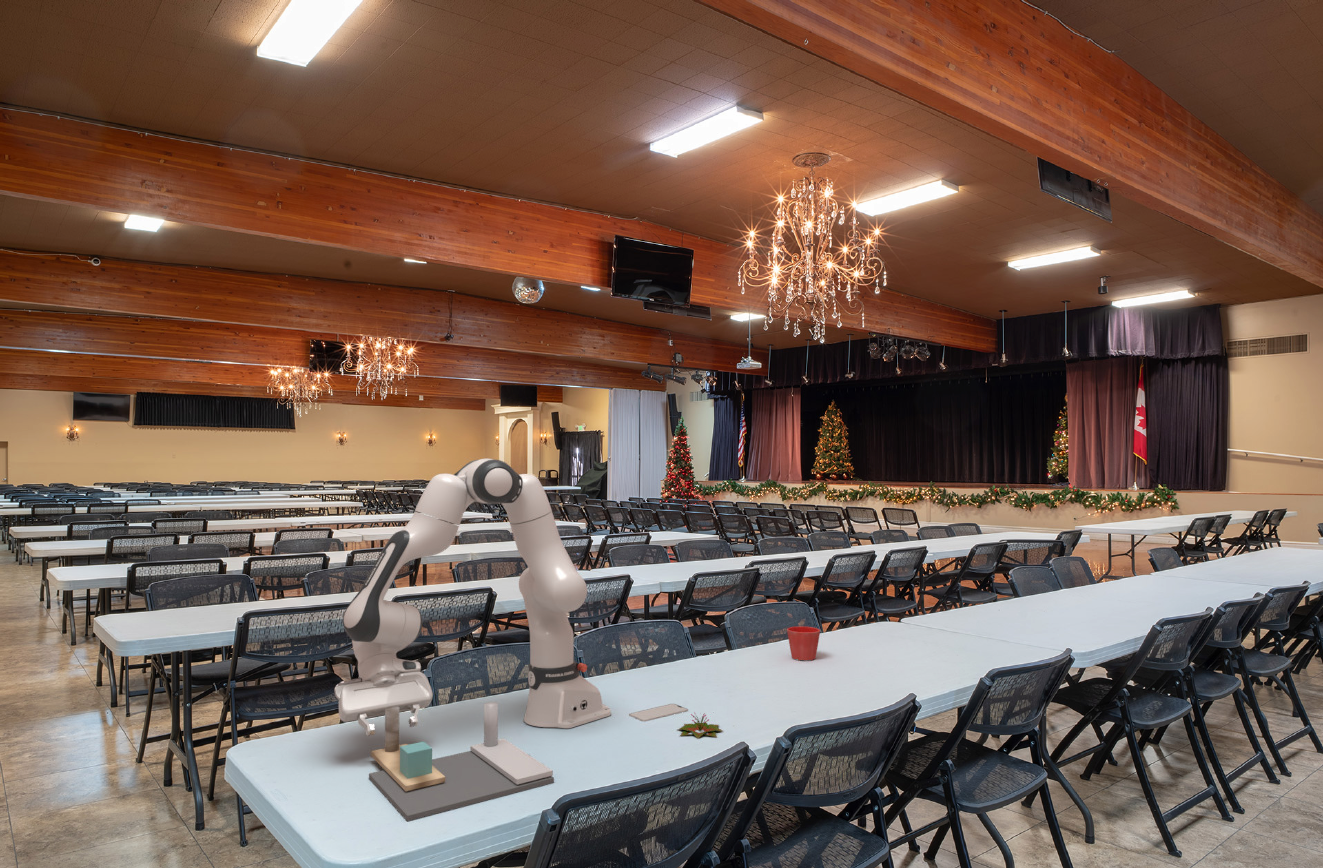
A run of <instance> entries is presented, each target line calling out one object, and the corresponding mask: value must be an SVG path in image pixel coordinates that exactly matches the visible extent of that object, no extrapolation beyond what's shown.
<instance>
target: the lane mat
mask: <svg viewBox="0 0 1323 868" xmlns="http://www.w3.org/2000/svg"><path fill="white" fill-rule="evenodd" d="M432 766H434V767H435V768H436V769H437V770H438V771H439V772H440V773H442V774H443V775H444V776H445V782H443V783H439V784H434V785H430V786H426V787H422V788H418V789H414V790H410V791H405V790H404V789H403V788H402V787H401V786H400V785H399V784H398V783H397V782H396V781H395V780H394V779H393V778H392V777H391V776H390V775H389V774H388V773H387V772H386V771H385V770H384V769H383V770H378V771H374V772H370V773H368V779H369V780H370V781H371V782H372V784H373V785H374V786H375V787H376V788H377V790H378V791H380V792H381V794H382V795H383V796H384V797H385V798H386V800H388V802H390V804H391V805H392V806H393V807H394V809H396V811H397V812H399V814H400V815H401V816H402V817H403V818H404V820H406V822H411V821H414V820H418V819H417V818H419V819H422V818H425V817H424V816H426V817H429V815H430V816H433V815H432V814H434V815H437V814H440V812H441V813H445V812H448V810H449V811H452V810H451V809H453V810H456V809H460V808H463V807H467V806H471V805H475V804H479V803H482V802H486V801H490V800H494V799H497V798H501V797H505V796H509V795H512V794H517V793H520V792H524V791H527V790H531V789H535V788H539V787H543V786H547V785H550V784H554V783H555V778H554V777H553V776H549V777H545V778H541V779H537V780H533V781H529V782H526V783H522V784H518V785H517V784H515V783H514V782H513V781H511V780H510V779H509V778H507V777H506V776H504V775H503V774H502V773H500V772H499V771H498V770H496V769H495V768H494V767H492V766H491V765H490V764H488V763H487V762H486V761H484V760H483V759H482V758H480V757H479V756H478V755H476V754H475V753H473V752H472V751H471V750H467V751H463V752H460V753H459V752H458V753H455V754H451V755H446V756H441V757H437V758H434V759H433V758H432Z"/></svg>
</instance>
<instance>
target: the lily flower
mask: <svg viewBox="0 0 1323 868" xmlns="http://www.w3.org/2000/svg"><path fill="white" fill-rule="evenodd" d="M694 714H696V712H695V711H694ZM690 715H691V716H692V718H694V719H692V720H691V721H692V722H693V723H683V726H681V727H680V728H678V729H676V731H677V730H678V731H682V732H681V733H680V735H679V737H682V736H695V737H696V739H697V740H698V739H699V738H700V737H702V736H708V737H715V738H717V732H715V731H718V732H723V730H722V729H720V728H719V724H713V723H711V724H710V723H709V724H708V723H707V722H709V721H710V719H707V718H708V717H706V716H707V714H706V713H703V715H702V717H699V716H696V718H695V715H693V714H692V713H691V714H690ZM700 715H701V712H700ZM704 718H705V719H704ZM683 730H684V731H683ZM698 731H699V732H698ZM690 733H691V734H690Z"/></svg>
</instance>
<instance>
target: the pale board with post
mask: <svg viewBox="0 0 1323 868" xmlns="http://www.w3.org/2000/svg"><path fill="white" fill-rule="evenodd" d="M483 708H484V709H483V718H484V719H483V742H482V743H481V742H480V743H476V744H472V745H470V751H472V752H473V753H475V754H476V755H478V756H479V757H480V758H482V759H483V760H484V761H486V762H487V763H488V764H490V765H491V766H492V767H494V768H495V769H496V770H498V771H499V772H500V773H502V774H503V775H504V776H506V777H507V778H509V779H510V780H511V781H513V782H514V783H515V784H517V785H518V784H522V783H526V782H529V781H533V780H537V779H541V778H545V777H549V776H552V777H553V776H554V774H553V773H554V772H553V771H554V770H553V769H551V768H550V767H548V766H546V765H545V764H543V763H542V762H540V761H539V760H537V759H536V758H535V757H533V756H531V755H530V754H529V753H526V752H525V751H524V750H522V749H521V748H519V747H517V746H516V745H514V744H513V743H511V742H510V741H509V740H507V739H505V738H500V739H498V737H499V735H498V734H499V731H498V730H499V729H498V726H499V723H498V722H499V721H498V719H499V717H498V716H499V714H498V713H499V712H498V710H499V705H498V702H496V701H489V702H485V703H484V704H483Z"/></svg>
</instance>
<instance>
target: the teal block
mask: <svg viewBox="0 0 1323 868" xmlns="http://www.w3.org/2000/svg"><path fill="white" fill-rule="evenodd" d="M432 759H433V747H432V746H430V745H429V744H427V743H426V741H420V742H416V743H411V744H408V745H405V746H400V772H401V773H402V774H403V775H404V776H405V777H406V778H407V779H409V778H413V777H418V776H422V775H426V774H431V773H432Z"/></svg>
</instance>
